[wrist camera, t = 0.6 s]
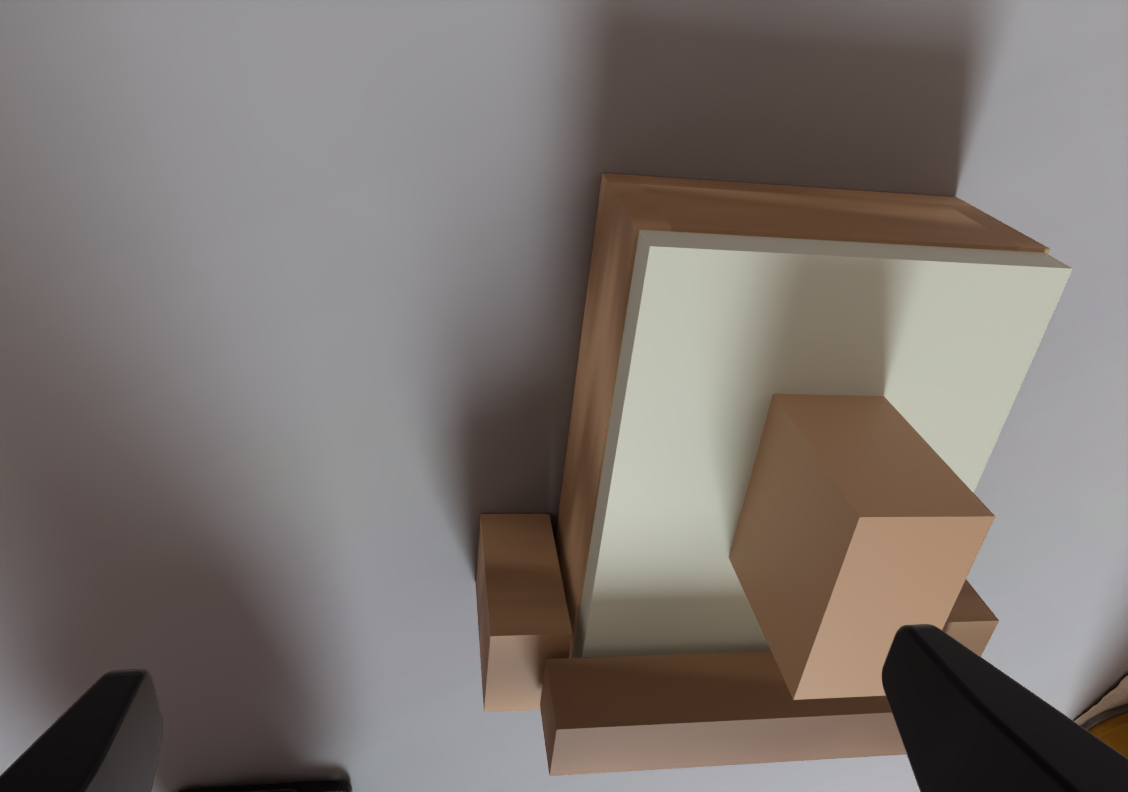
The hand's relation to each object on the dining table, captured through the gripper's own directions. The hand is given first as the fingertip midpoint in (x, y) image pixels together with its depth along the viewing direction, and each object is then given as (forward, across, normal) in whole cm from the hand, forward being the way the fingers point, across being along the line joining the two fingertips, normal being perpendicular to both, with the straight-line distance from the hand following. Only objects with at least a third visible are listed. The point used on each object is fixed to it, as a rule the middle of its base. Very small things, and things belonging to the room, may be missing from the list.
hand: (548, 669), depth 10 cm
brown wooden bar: (+8, -8, +10) cm, 15 cm away
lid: (+10, -8, +6) cm, 14 cm away
